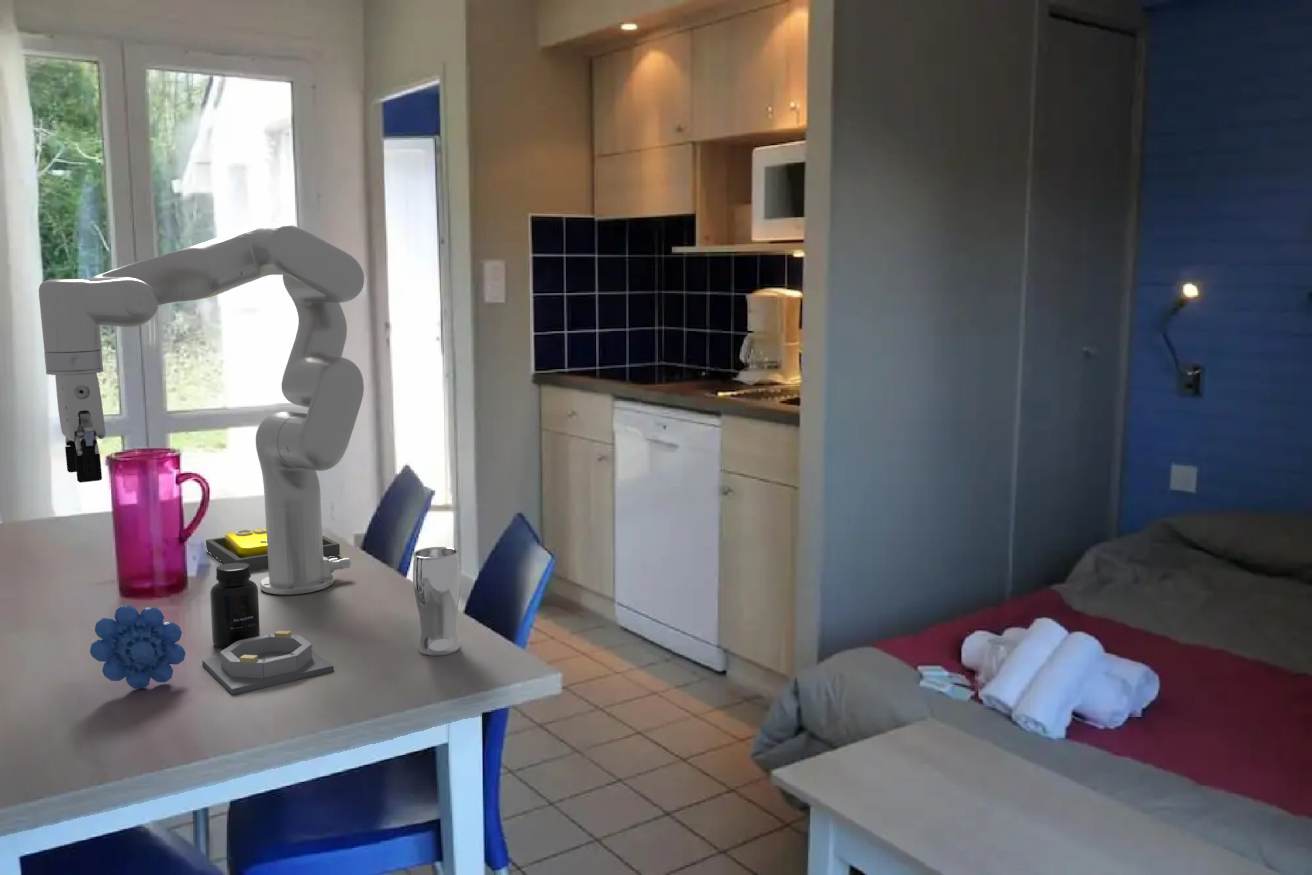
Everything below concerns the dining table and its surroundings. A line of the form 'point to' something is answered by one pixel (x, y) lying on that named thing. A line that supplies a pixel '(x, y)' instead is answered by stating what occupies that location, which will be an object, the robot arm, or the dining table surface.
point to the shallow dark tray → (261, 561)
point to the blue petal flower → (137, 646)
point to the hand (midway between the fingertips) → (84, 476)
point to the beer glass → (437, 598)
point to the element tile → (247, 542)
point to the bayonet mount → (266, 662)
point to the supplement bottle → (234, 605)
